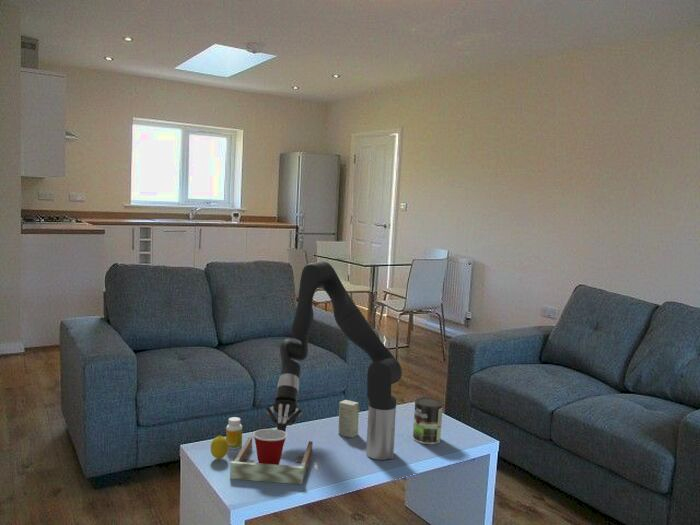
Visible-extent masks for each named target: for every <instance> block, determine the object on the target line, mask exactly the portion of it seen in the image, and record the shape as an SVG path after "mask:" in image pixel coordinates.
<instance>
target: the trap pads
mask: <svg viewBox="0 0 700 525" xmlns="http://www.w3.org/2000/svg"><path fill="white" fill-rule="evenodd" d="M303 458H304V455H297V457H296V460H295V463H296V462H297V464H298V463H300V464H302V461H303ZM254 461H255V460H254V459H247V458H246V459H245V460H244V461H243V462H249V463H254Z"/></svg>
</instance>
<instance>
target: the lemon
mask: <svg viewBox="0 0 700 525" xmlns="http://www.w3.org/2000/svg"><path fill="white" fill-rule="evenodd" d="M228 450H229V449H228V443H227V440H226V437H224V436H222V435H218V436H216V437H214V438H213V439H212V441H211V443H210V453H211V455H212V457H213V458H215V459H217V460H219V461H220V460H221V459H222V458H224V457H225V456H226V455H227V453H228Z"/></svg>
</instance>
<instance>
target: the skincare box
mask: <svg viewBox="0 0 700 525" xmlns="http://www.w3.org/2000/svg"><path fill="white" fill-rule="evenodd" d="M359 409H360V404H359V402H357V401H353V400H349V399H344V400H340V401H339V402H338V435H341V436H342V437H343V436H344V437H348V438H352V439H353V438H355V437H356V436H358V435H359V414H360V413H359V412H360V411H359Z"/></svg>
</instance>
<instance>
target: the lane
mask: <svg viewBox="0 0 700 525" xmlns="http://www.w3.org/2000/svg"><path fill="white" fill-rule="evenodd" d="M313 445H314V444H313V441H310V440H309V441H308V443H307V446H306V449H305V452H304V455H303V456H304V458H303V461H302V463H300V464H301V465H287V464H279V465H275V464H262V463H258V462H253V463H249V462H243V461H244V460H245V459H246V460H247V456H248V455H249V453H250V451H251V449H252V447H253V437H252V436H248V437H247V440H246V441H245V442H244V445H242V446H241V449H240V450H239V453H238V454H237V456H236V457H235V459H234V461H233V460H232V461H230V467H229V470H230V471H229V479H230V480H231V479H232V480H242V481H253V482H255V481H256V482H257V481H258V482H269V483H279V484H280V483H281V484H292V483H293V484H295V485H303V482H304V479H305V475H306V472H307V470H306V469H308V467H309V463H310V460H311V456H312V454H313Z"/></svg>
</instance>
